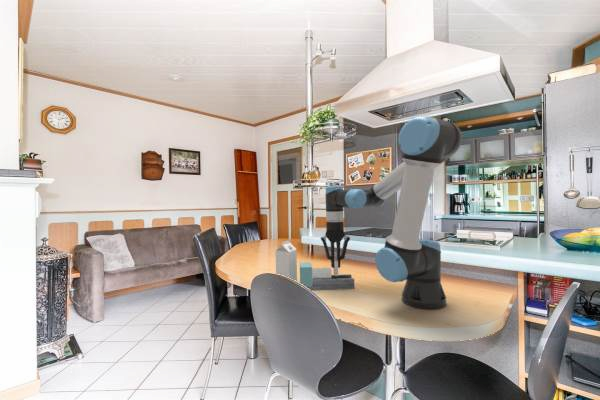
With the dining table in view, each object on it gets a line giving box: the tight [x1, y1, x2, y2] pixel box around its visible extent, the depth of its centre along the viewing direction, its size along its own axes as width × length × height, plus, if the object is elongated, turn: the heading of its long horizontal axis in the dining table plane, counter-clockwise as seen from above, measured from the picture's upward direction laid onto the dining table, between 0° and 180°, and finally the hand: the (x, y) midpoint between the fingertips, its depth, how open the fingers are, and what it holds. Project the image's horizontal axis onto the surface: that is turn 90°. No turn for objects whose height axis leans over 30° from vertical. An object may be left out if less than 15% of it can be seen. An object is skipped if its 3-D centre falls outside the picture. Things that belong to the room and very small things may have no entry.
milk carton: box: [275, 240, 298, 282], centre depth 137 cm, size 7×7×19 cm
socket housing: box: [299, 261, 313, 287], centre depth 130 cm, size 9×5×8 cm, turn 1°
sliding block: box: [312, 267, 333, 284], centre depth 130 cm, size 4×12×6 cm, turn 91°
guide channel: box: [307, 273, 356, 291], centre depth 130 cm, size 9×23×4 cm, turn 91°
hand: (336, 275), depth 130 cm, fingers closed
